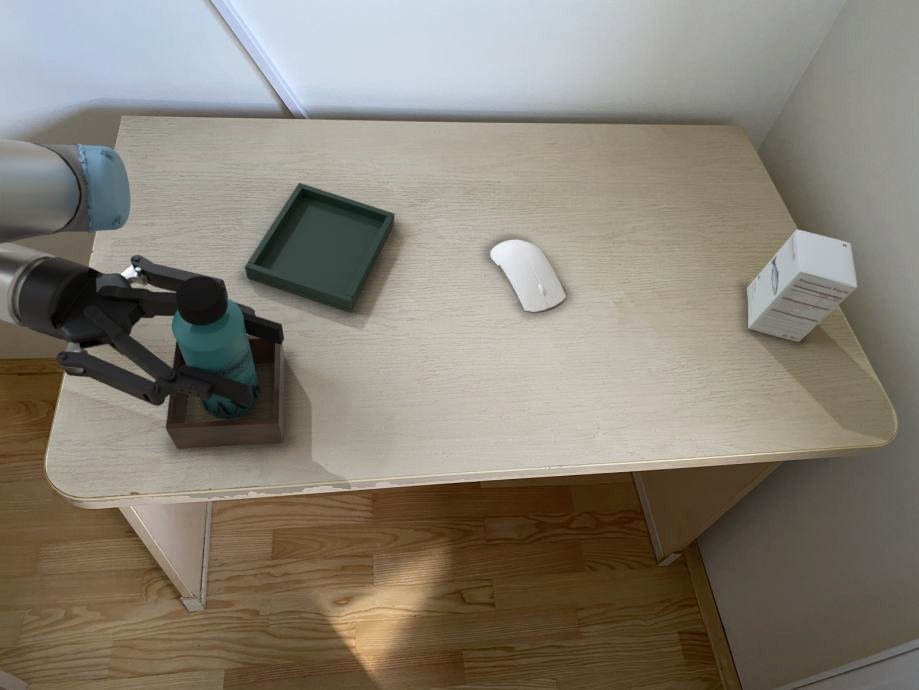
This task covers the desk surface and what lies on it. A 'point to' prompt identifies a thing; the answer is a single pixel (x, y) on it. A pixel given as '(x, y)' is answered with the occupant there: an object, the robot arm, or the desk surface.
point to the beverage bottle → (215, 341)
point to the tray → (321, 247)
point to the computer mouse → (529, 274)
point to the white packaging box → (801, 285)
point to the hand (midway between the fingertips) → (265, 364)
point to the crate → (232, 429)
